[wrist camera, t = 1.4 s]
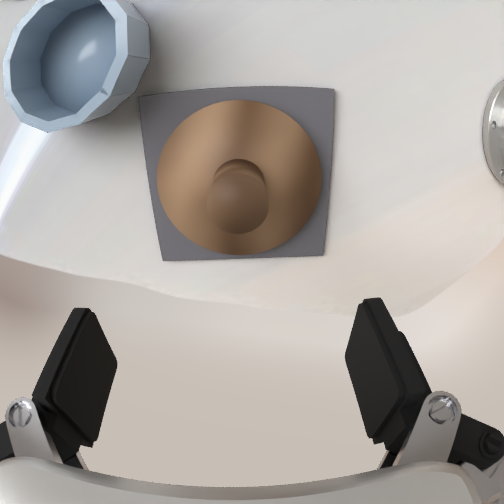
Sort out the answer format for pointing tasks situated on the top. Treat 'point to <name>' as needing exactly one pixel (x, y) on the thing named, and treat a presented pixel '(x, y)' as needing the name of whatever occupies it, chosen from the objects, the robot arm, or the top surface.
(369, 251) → the top surface
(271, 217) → the lid
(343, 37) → the top surface
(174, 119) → the mat
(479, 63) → the top surface
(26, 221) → the top surface
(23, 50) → the bowl
